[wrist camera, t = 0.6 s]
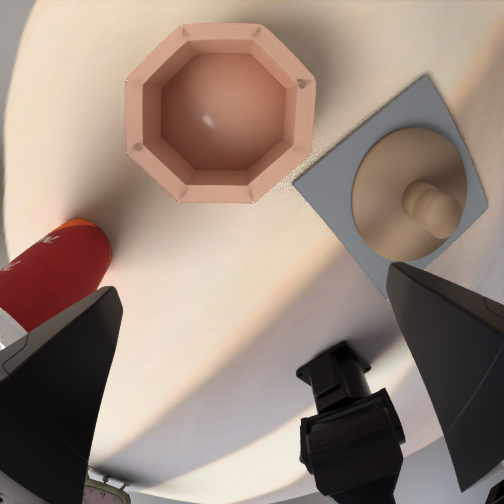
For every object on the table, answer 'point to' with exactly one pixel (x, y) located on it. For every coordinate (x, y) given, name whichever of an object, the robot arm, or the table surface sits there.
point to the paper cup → (51, 277)
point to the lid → (409, 194)
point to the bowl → (219, 112)
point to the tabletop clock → (104, 492)
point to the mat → (352, 152)
